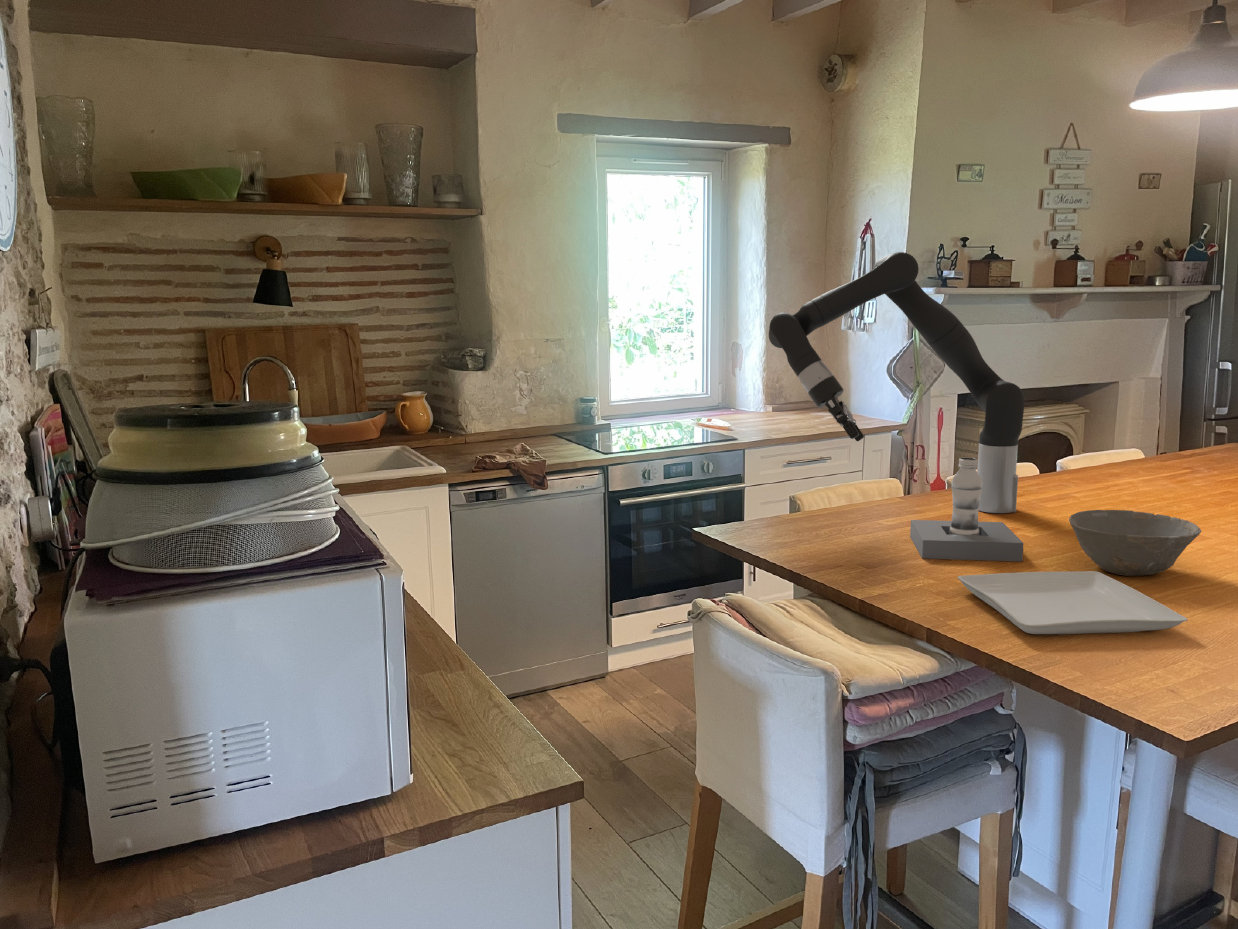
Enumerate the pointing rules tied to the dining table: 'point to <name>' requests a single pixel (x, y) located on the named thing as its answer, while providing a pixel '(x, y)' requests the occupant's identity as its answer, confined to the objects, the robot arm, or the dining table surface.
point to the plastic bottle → (966, 498)
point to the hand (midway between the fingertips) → (858, 438)
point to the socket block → (966, 542)
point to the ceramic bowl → (1132, 540)
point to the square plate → (1070, 602)
